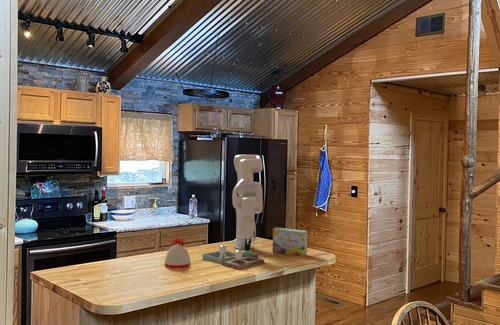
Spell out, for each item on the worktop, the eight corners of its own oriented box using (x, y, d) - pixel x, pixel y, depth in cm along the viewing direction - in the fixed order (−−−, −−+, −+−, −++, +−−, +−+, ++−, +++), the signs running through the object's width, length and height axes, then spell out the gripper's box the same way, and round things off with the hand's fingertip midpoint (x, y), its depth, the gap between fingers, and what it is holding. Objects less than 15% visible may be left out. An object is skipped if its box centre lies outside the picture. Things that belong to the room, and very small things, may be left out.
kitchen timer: (185, 269, 256) (185, 240, 256) (160, 267, 259) (161, 239, 259) (193, 263, 270) (194, 236, 270) (170, 261, 273) (170, 235, 272)
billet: (217, 259, 276) (217, 245, 276) (222, 258, 279) (222, 244, 279) (222, 260, 273) (222, 246, 273) (227, 259, 276) (227, 245, 276)
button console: (236, 258, 282) (236, 253, 282) (247, 256, 288) (247, 251, 288) (247, 261, 276) (247, 256, 276) (258, 258, 282) (258, 253, 282)
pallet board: (222, 267, 261) (222, 261, 261) (248, 261, 276) (248, 256, 276) (238, 271, 253) (238, 265, 253) (264, 265, 267) (264, 259, 267)
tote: (202, 260, 276) (202, 254, 276) (223, 256, 288) (223, 250, 288) (221, 265, 265) (221, 259, 265) (242, 260, 276) (242, 254, 276)
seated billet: (233, 265, 261) (233, 250, 261) (238, 264, 264) (238, 249, 264) (238, 266, 259) (238, 251, 258) (243, 265, 262) (243, 250, 261)
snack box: (272, 252, 300) (272, 228, 299) (275, 251, 305) (276, 227, 304) (304, 256, 290) (304, 231, 289) (307, 254, 295) (308, 230, 294)
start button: (241, 256, 282) (242, 250, 282) (247, 255, 285) (247, 249, 285) (247, 258, 279) (247, 251, 279) (252, 257, 282) (252, 250, 282)
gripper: (234, 218, 284) (233, 249, 284) (252, 220, 273) (252, 253, 274) (243, 216, 289) (242, 247, 289) (261, 219, 279) (261, 251, 279)
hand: (247, 250), depth 282 cm, fingers closed
